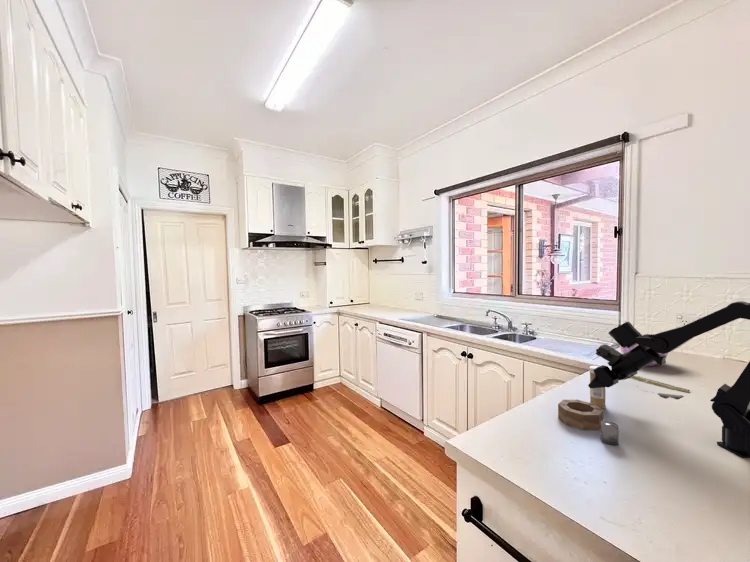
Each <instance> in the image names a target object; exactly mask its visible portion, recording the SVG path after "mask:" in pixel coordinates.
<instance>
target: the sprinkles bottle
mask: <svg viewBox="0 0 750 562" xmlns="http://www.w3.org/2000/svg"><path fill="white" fill-rule="evenodd" d="M599 366H600V365H591V366H589V376H590V377H589V383H590V382H591V381H592V380H593V379H594V377H595V373H594V371H593V370H594V369H596V368H597V367H599ZM606 394H607V393H606V387H601V388H589V396H590V397H589V400H590V401H589V403H593V404H595V405H597V406H598V407H600V408H601V409H605V408H606V398H607V397H606Z"/></svg>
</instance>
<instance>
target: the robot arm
mask: <svg viewBox="0 0 750 562" xmlns="http://www.w3.org/2000/svg"><path fill="white" fill-rule="evenodd" d="M738 319H744V320H749V321H750V302H746V301H743V300H741V301H735V302H731V303H729V304H728V305H726V306H725V307H723V308H721V309H719V310H716V311H713V312H711V313H709V314H707V315H705V316H703V317H701V318H700V317H699V318H698V319H696V320H694V321H692V322H691V321H690V322H689V323H687V324H684V325H683V326H679V327H675V328H671V329H667V330H664V331H660V332H658V333H654V334H650V333H649V334H648V333H645V334H642V333H641V332H640V331H639V330H637V328H635V327H634V325H633V324H632V323H631V322H630V321H625V322H624V323H622V324H620V325H618V326H617V327H614V328H613V329H611V330H610V331H608V335H610V337H611V338H612V339H613V340H614V341H615V342H616V343H617V344H618V345H619V347H620V346H621V347H624V348H625V347H627V348H628V349H629V348H631V347H633V346H634V345H636V344H638V346H636V347H635V348H633V349H632V350H630V351H629V352H627V353H624V354H622V352H619V350H616V349H615V348H613V347H612V346H610V345H608V344H601V345H599V347H598V348H596V351H595V355H596V356H598V357H601V358H602V359H604V360H605V361H607V365H603V364H602V365H598V366H599V367H597V368H596V369H594V370H593V371H594V373H595V377H594V379H593V380H592V381H591V382H590V381H589V384H588V385H587V387H588V388H589V389H590V388H601V387H605V388H611V387H613V386H615V385H616V384H618V383H619V381H625V380H627V379H630V377H632V376H637V375H638V372H639V371H641V370H642V369H644V368H645V367H648V366H647V365H649V364H651V363H652V362H654V361H655V362H656V363H657V364H656V365H659V366H663V365H664V366H665V364H667V361H666V360H667V357H666V356H665V355H661V354H665V353H668V354H669V353H670V352H673V351H675V350H677V349H679V348H680V347H682V346H683V345H685V344H686V343H688V342H689V341H690V340H691V341H692V339H694V338H695V337H698V336H700V335H703V334H705V333H707V332H710V331H712V330H714V329H717V328H720V327H722V326H724V325H726V324H728V323H730V322H734V321H737V320H738ZM659 353H661V354H659ZM665 358H666V359H665ZM710 402H712V404H711V410H712V411H713V413H714V414H715V415H716V416H717V418H719V419H720V420H721V422H722V426H721V441H716V444H717V446H720V447H722V448H724V449H726V450H728V451H730V452H731V453H733V454H735V455H736V456H739V457H741V458H750V361H749V362H748V363H747V365H746V366H745V367H744V369H743V371H742V372H741V373H740V375H739V376H738V378H737V379H736V380H735V382H734V383H733V385H728V384H727V383H723V384H722V385H721V386H720V387H718V388H717V391H716V394H715V396H713V397H712V398H711V399H710Z"/></svg>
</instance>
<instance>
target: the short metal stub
mask: <svg viewBox="0 0 750 562" xmlns="http://www.w3.org/2000/svg"><path fill="white" fill-rule="evenodd" d="M619 428H620V426H619V424H618V423H616V422H614V421H610V420H603V421H601V428H600V442H601V443H603V444H605V445H608V446H610V447H618V446H619V444H620V441H619V439H620V438H619V437H620V436H619V435H620V429H619Z"/></svg>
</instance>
